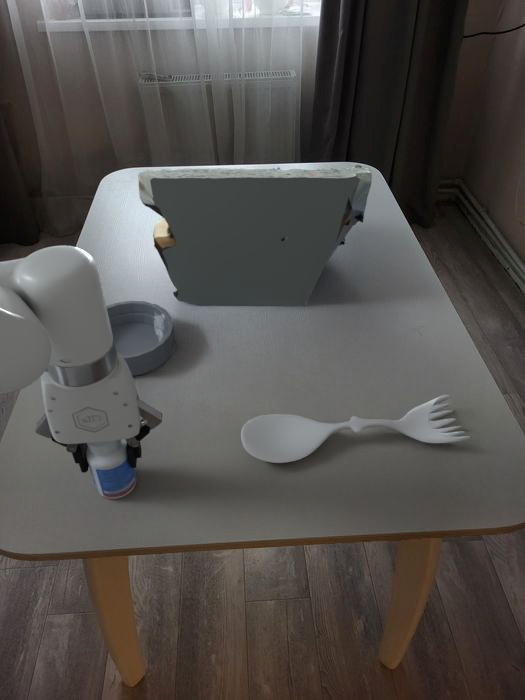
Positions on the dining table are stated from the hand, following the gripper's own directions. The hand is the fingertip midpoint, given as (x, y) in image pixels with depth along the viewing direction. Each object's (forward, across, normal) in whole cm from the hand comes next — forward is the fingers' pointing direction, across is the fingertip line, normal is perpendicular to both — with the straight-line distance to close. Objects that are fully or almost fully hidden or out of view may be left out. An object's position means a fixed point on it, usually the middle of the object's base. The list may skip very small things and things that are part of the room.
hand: (110, 460), depth 72 cm
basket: (+5, +25, +51) cm, 57 cm away
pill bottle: (+5, 0, 0) cm, 5 cm away
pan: (+5, 0, +28) cm, 29 cm away
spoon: (+5, +33, +4) cm, 34 cm away
